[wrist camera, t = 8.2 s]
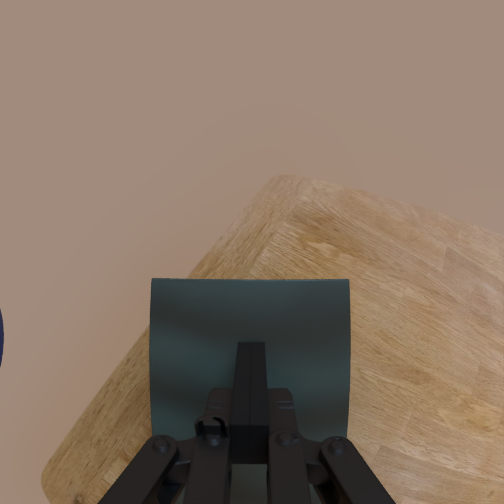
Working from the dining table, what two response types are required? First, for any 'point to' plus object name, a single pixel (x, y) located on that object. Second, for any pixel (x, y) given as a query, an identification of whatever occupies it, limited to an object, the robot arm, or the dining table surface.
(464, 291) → the dining table surface
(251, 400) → the robot arm
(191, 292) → the chest lid
